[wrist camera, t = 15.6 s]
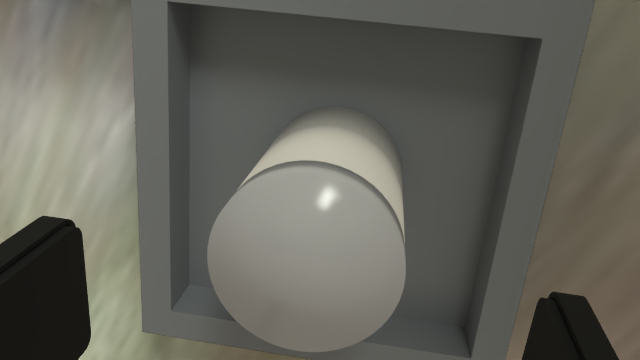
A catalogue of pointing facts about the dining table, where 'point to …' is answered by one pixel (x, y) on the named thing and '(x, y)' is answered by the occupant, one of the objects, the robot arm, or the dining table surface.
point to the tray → (387, 109)
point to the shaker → (315, 235)
